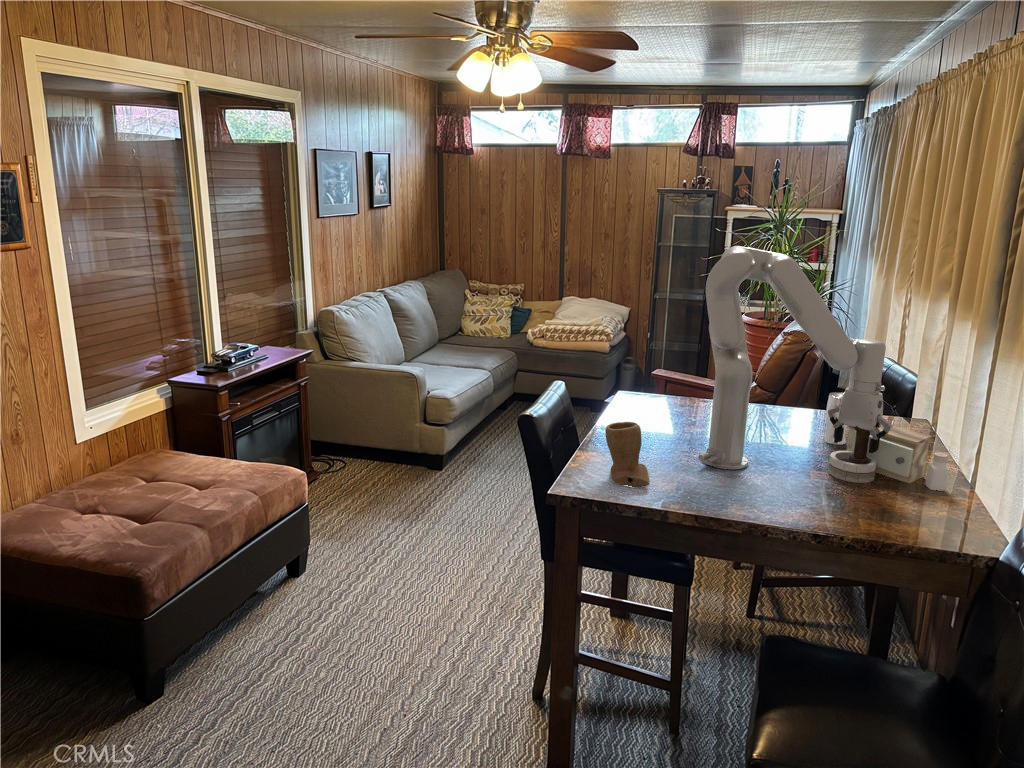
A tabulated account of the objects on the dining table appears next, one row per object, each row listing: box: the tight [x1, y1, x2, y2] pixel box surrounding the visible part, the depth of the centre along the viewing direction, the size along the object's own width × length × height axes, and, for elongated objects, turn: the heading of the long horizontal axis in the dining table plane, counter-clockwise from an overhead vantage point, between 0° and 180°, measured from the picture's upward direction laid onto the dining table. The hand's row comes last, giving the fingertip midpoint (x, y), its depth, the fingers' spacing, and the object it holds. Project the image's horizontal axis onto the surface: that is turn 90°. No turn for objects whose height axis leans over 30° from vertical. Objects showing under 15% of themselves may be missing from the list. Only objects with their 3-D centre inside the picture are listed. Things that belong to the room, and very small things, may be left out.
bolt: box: [849, 426, 870, 464], centre depth 197 cm, size 6×5×15 cm
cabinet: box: [827, 425, 933, 484], centre depth 198 cm, size 21×19×12 cm
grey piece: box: [828, 431, 914, 477], centre depth 195 cm, size 12×18×8 cm, turn 30°
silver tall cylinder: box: [823, 392, 848, 446], centre depth 224 cm, size 7×7×15 cm
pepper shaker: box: [924, 452, 950, 492], centre depth 190 cm, size 4×4×10 cm
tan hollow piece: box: [605, 421, 650, 488], centre depth 192 cm, size 15×12×15 cm
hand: (854, 446), depth 197 cm, fingers open, 9 cm apart
